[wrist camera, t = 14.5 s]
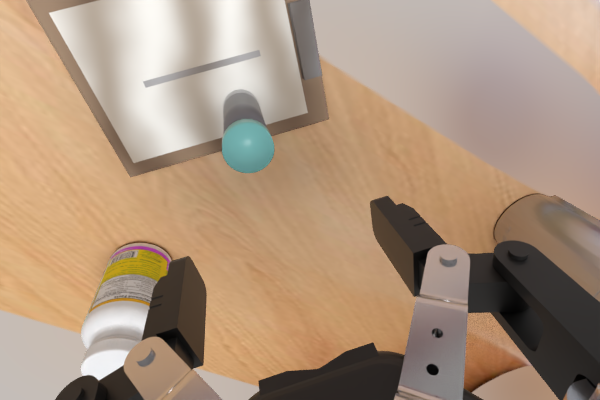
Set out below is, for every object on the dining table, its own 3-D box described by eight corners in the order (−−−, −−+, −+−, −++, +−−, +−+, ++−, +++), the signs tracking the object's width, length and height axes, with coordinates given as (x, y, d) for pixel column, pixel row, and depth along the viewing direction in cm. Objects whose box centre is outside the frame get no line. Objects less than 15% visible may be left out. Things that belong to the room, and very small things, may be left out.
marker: (253, 83, 29) (266, 118, 20) (264, 119, 31) (279, 164, 22) (216, 94, 29) (214, 133, 20) (229, 129, 30) (232, 178, 22)
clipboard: (294, -71, 24) (299, -76, 23) (327, 117, 33) (332, 122, 31) (27, -5, 23) (16, -5, 22) (131, 174, 31) (127, 182, 30)
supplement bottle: (160, 290, 40) (140, 397, 29) (101, 275, 37) (54, 388, 26) (183, 250, 37) (170, 350, 27) (122, 231, 34) (79, 335, 24)
